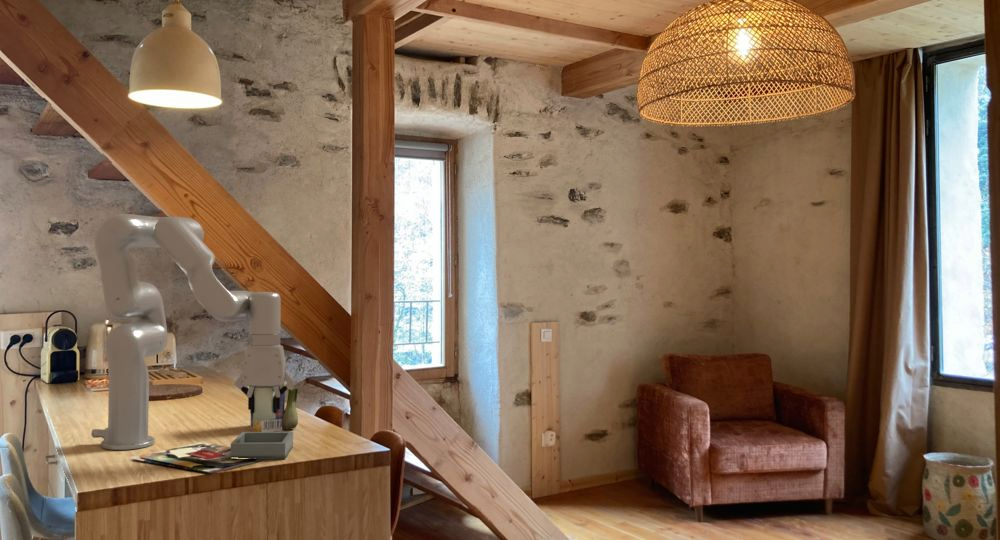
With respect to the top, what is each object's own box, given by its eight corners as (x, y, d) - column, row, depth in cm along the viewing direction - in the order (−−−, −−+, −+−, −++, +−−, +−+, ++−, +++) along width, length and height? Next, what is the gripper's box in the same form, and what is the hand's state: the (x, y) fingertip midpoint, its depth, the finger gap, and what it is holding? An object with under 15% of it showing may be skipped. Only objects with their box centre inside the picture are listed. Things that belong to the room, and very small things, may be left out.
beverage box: (273, 423, 234) (275, 350, 234) (284, 430, 224) (285, 354, 224) (250, 425, 230) (251, 351, 230) (260, 433, 221) (261, 355, 221)
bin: (230, 460, 191) (230, 443, 191) (241, 447, 204) (242, 432, 204) (285, 459, 192) (285, 443, 192) (292, 447, 205) (293, 431, 205)
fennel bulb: (289, 426, 230) (295, 385, 230) (301, 429, 227) (307, 388, 228) (274, 427, 225) (280, 386, 225) (286, 430, 222) (292, 388, 223)
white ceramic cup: (252, 420, 195) (252, 388, 195) (256, 416, 200) (256, 385, 200) (272, 420, 196) (273, 388, 195) (276, 416, 201) (276, 385, 200)
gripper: (226, 342, 193) (226, 415, 193) (297, 342, 195) (296, 415, 195) (233, 339, 200) (233, 410, 201) (301, 339, 202) (300, 409, 203)
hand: (264, 411), depth 198 cm, fingers closed on white ceramic cup, 5 cm apart
